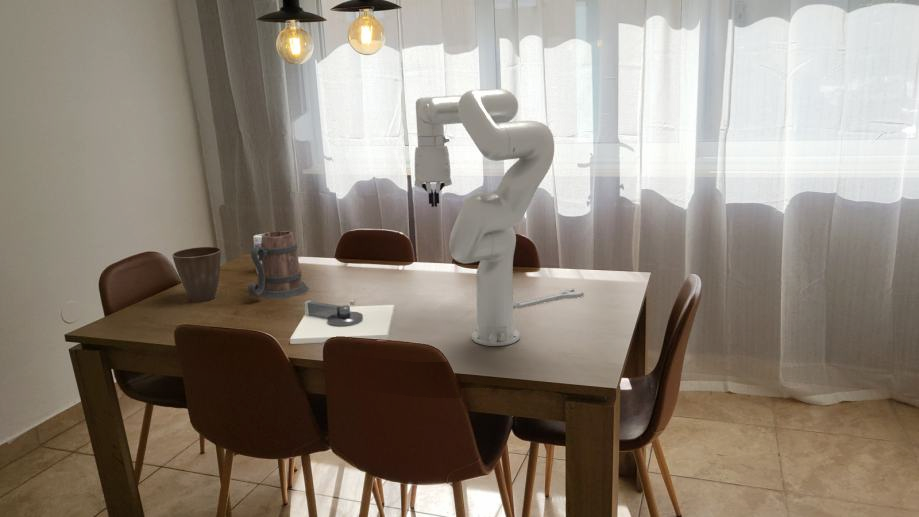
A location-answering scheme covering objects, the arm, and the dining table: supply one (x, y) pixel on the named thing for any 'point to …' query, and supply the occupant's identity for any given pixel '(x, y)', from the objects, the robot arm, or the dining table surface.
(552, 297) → the adjustable wrench
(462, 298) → the dining table surface
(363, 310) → the dial board
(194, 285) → the plant pot
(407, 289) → the dining table surface
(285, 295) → the tankard
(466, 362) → the dining table surface
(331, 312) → the dial
